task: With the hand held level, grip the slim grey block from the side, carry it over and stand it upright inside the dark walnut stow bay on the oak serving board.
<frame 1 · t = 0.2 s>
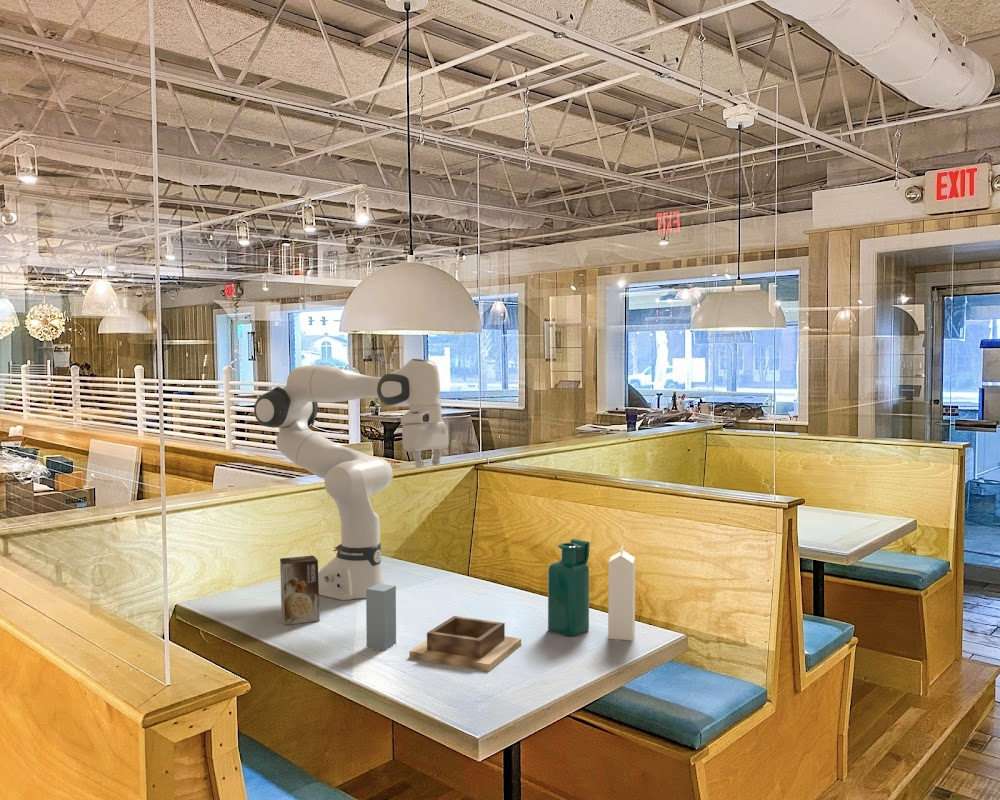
hand: (428, 466, 223), 38 cm above the table, tool pointing down, fingers open, 8 cm apart
grey block: (381, 645, 190), on the table
coffee box: (300, 620, 210), on the table
milk: (621, 636, 197), on the table
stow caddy: (466, 651, 187), on the table
pitcher: (570, 630, 202), on the table
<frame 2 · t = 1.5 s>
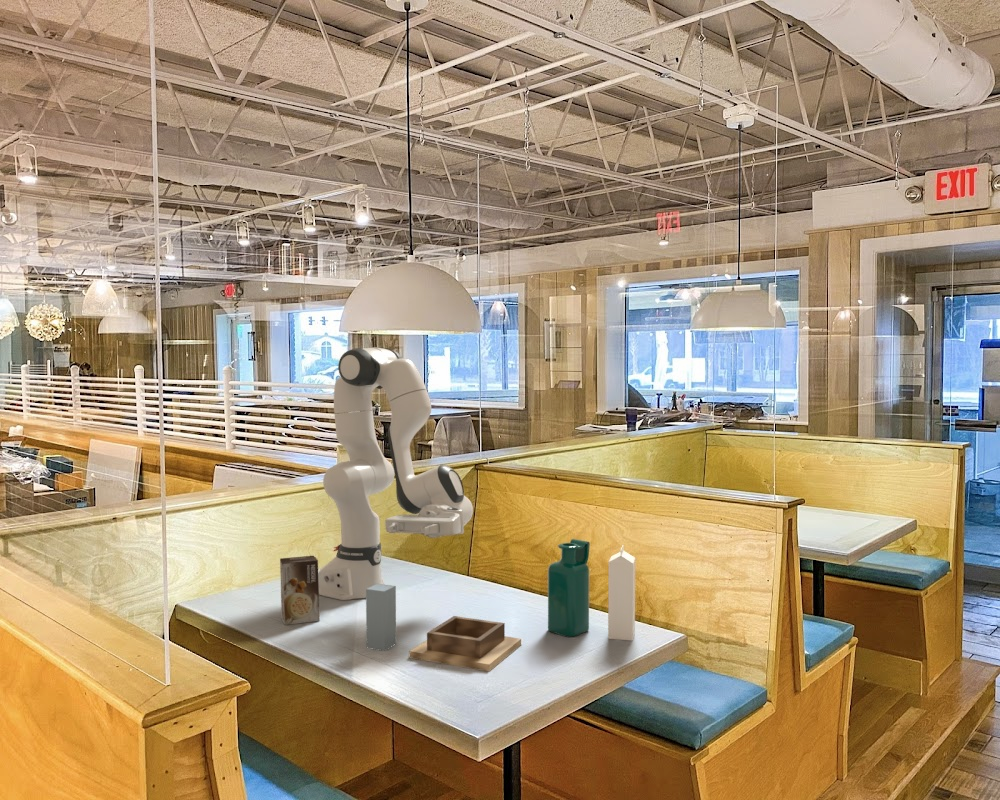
hand: (406, 530, 200), 25 cm above the table, tool horizontal, fingers open, 8 cm apart
nothing on the table moved.
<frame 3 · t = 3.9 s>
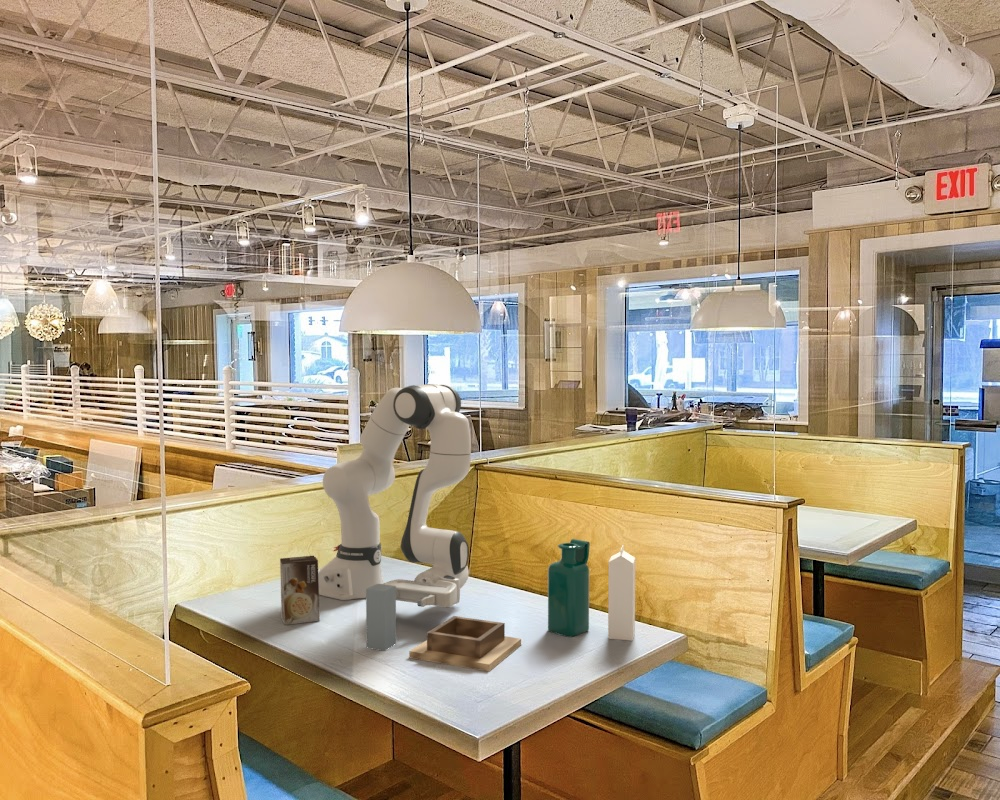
hand: (403, 601, 199), 8 cm above the table, tool horizontal, fingers open, 8 cm apart
nothing on the table moved.
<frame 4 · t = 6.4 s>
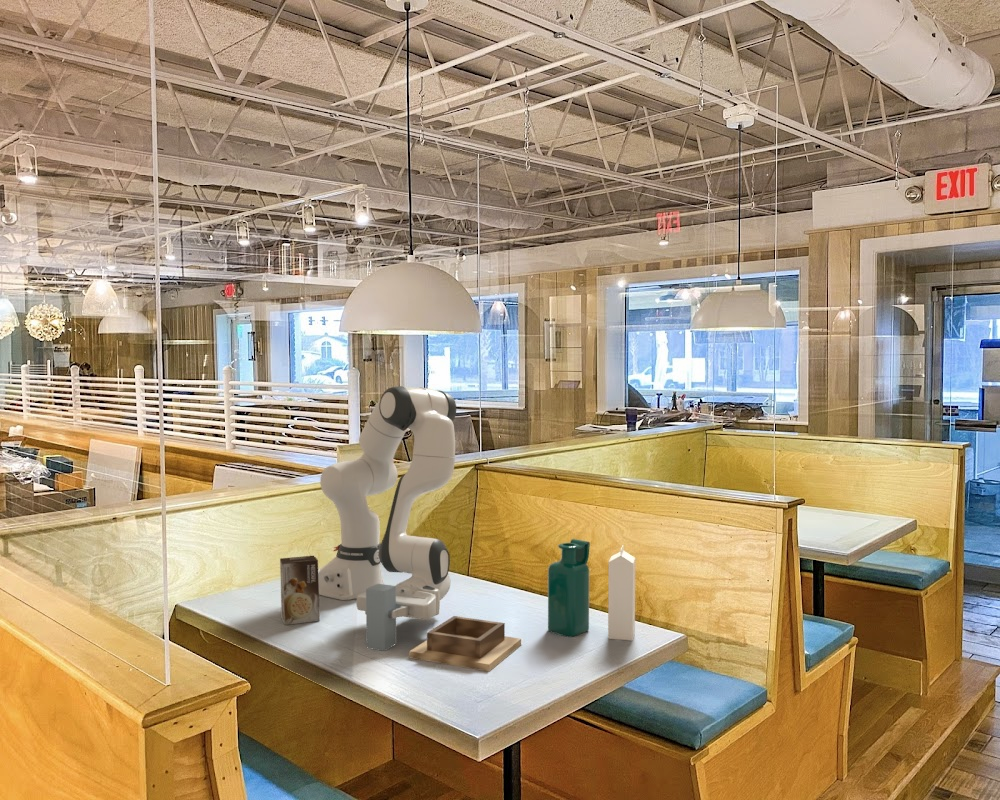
hand: (379, 613, 189), 8 cm above the table, tool horizontal, fingers closed on grey block, 5 cm apart
grey block: (381, 645, 190), on the table, touching gripper
everything else where it was.
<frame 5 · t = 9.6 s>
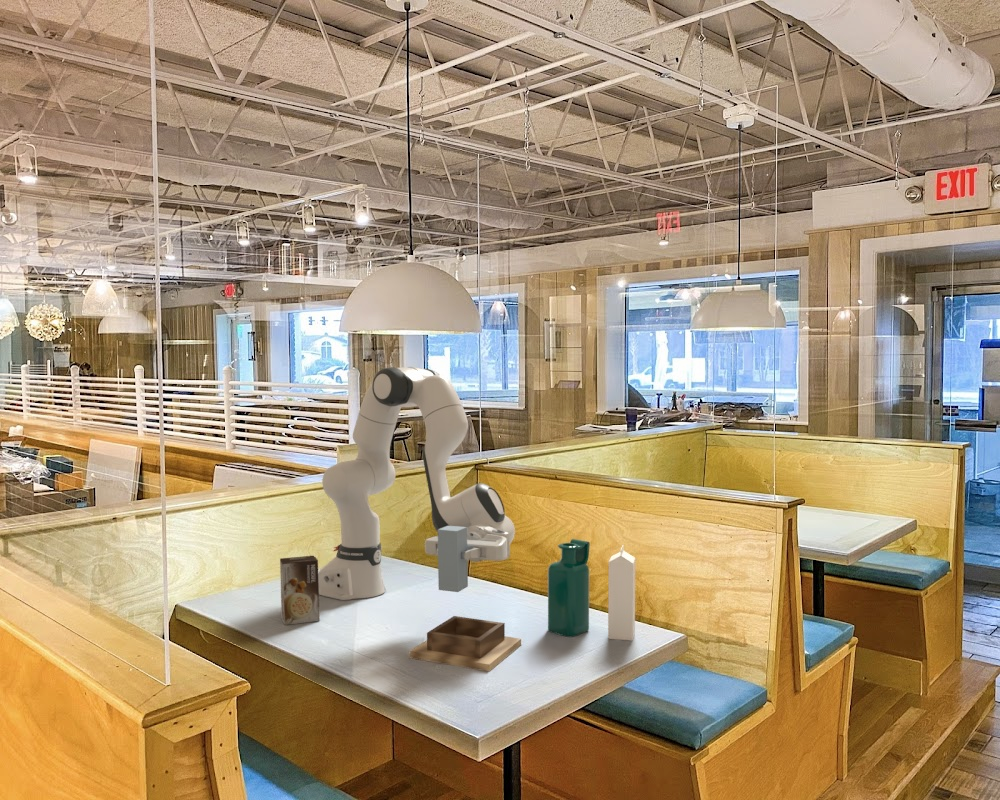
hand: (451, 554, 185), 23 cm above the table, tool horizontal, fingers closed on grey block, 5 cm apart
grey block: (453, 588, 186), point 15 cm above the table, touching gripper
everything else where it was.
when the fingers open (11 cm above the table, at t = 13.0 s): grey block drops 1 cm, resting on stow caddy.
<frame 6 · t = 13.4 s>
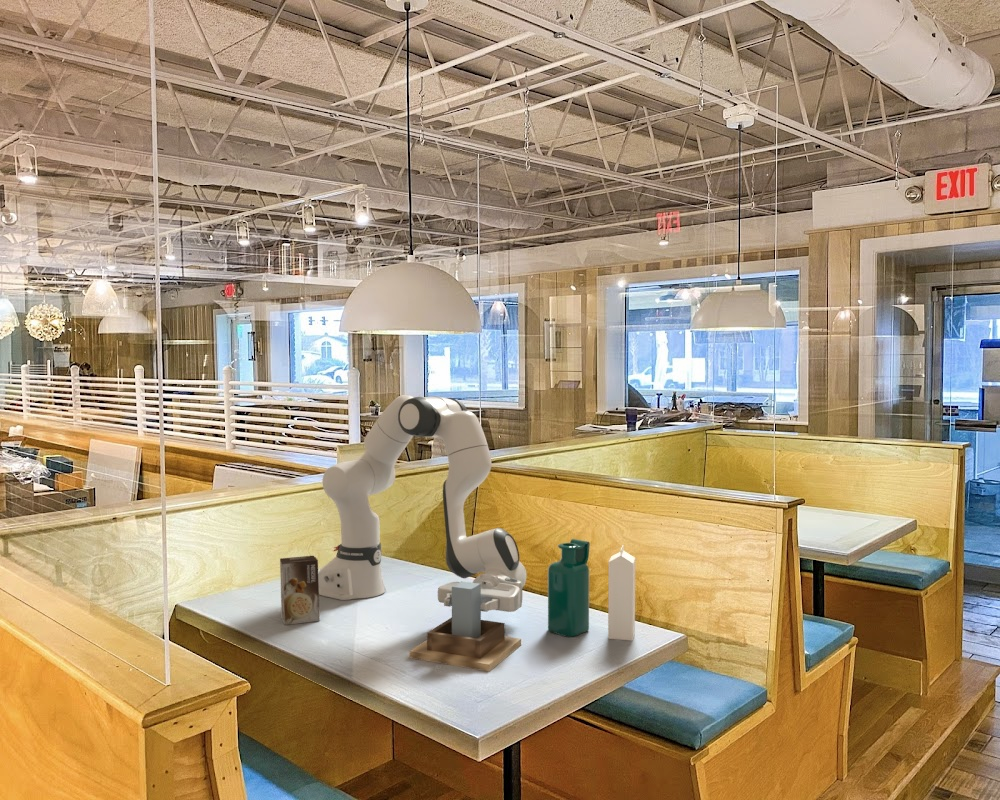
hand: (464, 605, 186), 11 cm above the table, tool horizontal, fingers open, 8 cm apart
grey block: (466, 644, 187), point 1 cm above the table, touching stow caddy
everything else where it was.
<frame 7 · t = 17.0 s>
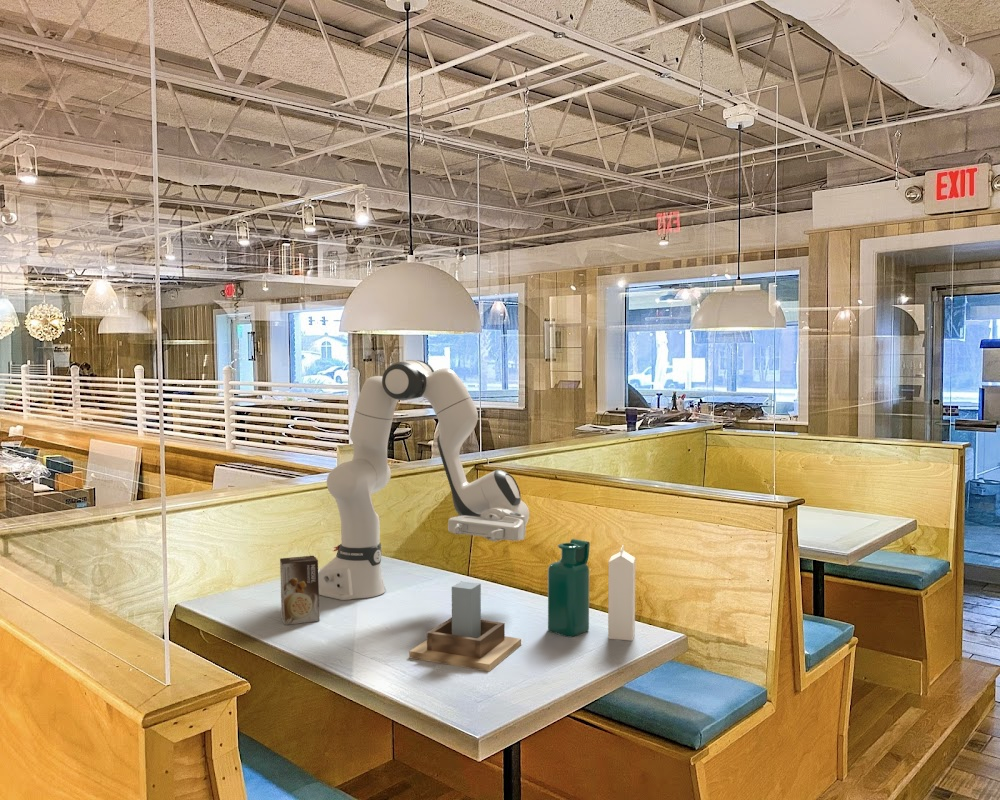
hand: (473, 533, 203), 24 cm above the table, tool horizontal, fingers open, 8 cm apart
nothing on the table moved.
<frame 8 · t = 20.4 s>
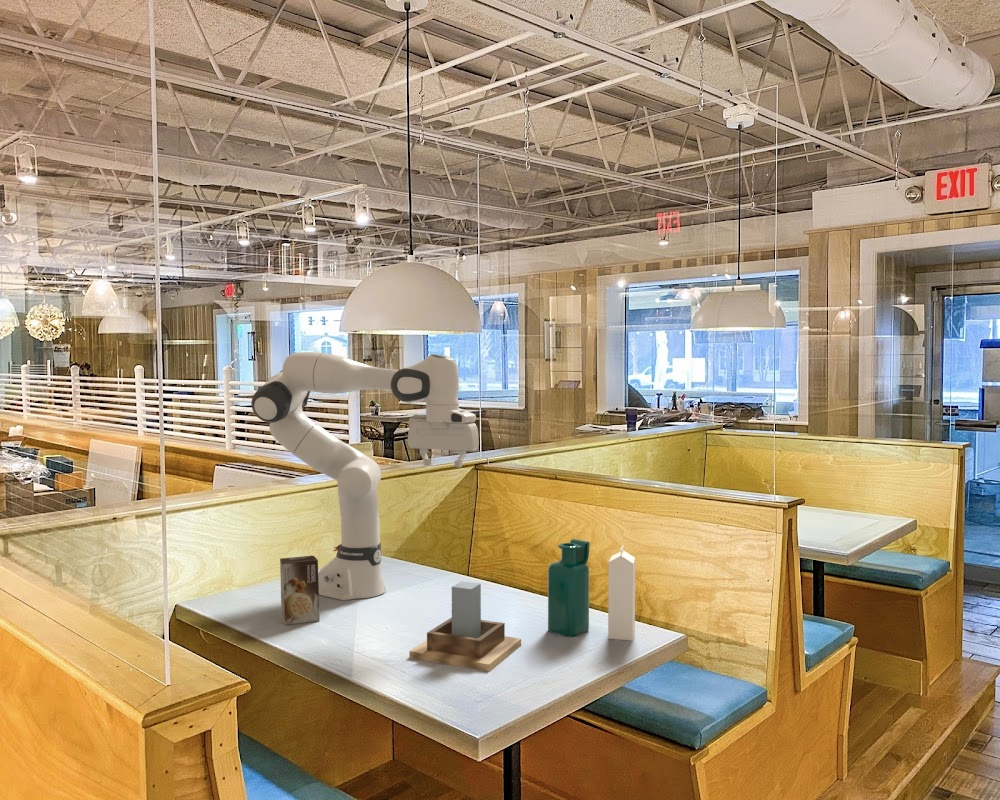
hand: (442, 466, 217), 39 cm above the table, tool pointing down, fingers open, 8 cm apart
nothing on the table moved.
at the end: grey block 0.0 cm off-centre on the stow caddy, point 1.5 cm above the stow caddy's base; grey block tilted 0°; the gripper is holding nothing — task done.
